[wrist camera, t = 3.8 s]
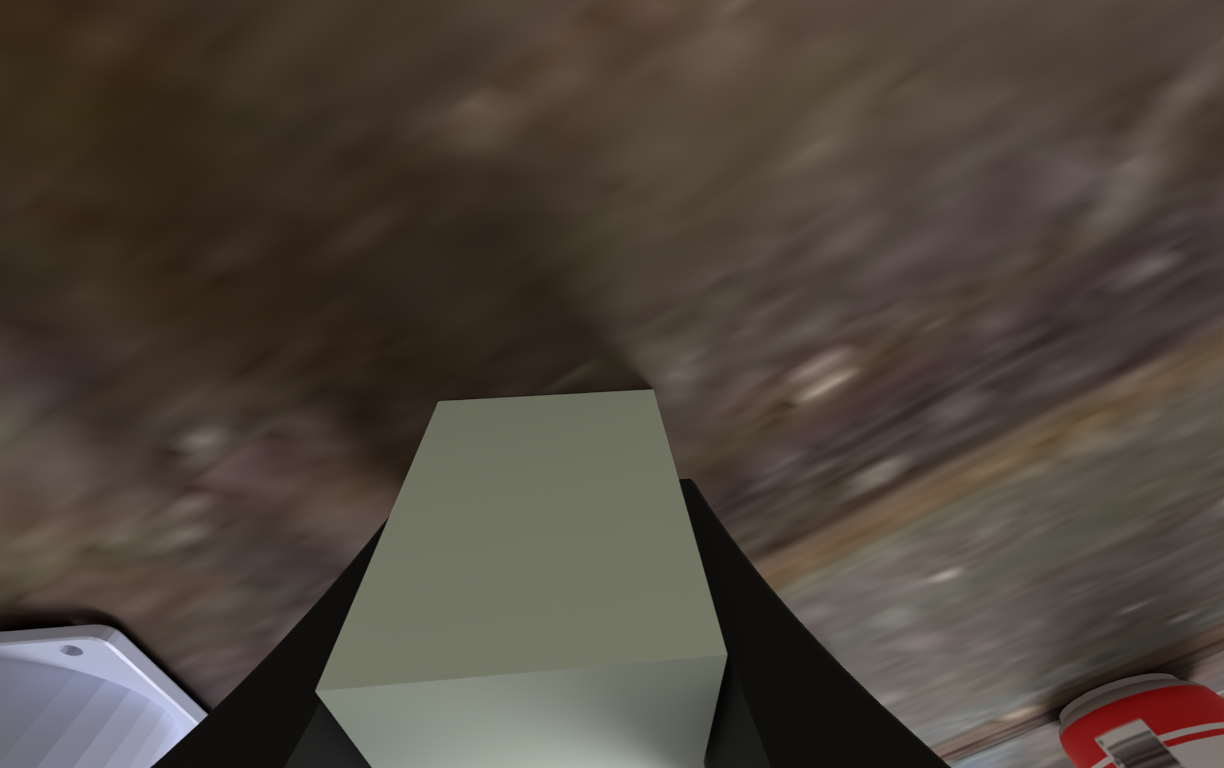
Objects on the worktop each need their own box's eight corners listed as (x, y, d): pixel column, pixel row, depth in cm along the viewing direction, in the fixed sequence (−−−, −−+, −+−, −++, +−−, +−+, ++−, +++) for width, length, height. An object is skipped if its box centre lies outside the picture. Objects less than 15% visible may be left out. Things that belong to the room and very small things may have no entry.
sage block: (475, 543, 12) (417, 828, 7) (438, 401, 10) (314, 691, 5) (647, 531, 12) (695, 798, 8) (653, 389, 10) (727, 654, 5)
